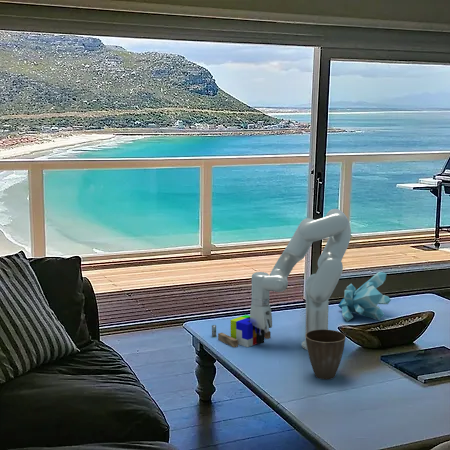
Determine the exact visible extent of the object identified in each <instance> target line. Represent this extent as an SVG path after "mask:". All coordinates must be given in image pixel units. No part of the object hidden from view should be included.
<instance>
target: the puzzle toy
mask: <svg viewBox="0 0 450 450" xmlns="http://www.w3.org/2000/svg"><path fill="white" fill-rule="evenodd" d="M254 327H255V326H253V325H252V323H250V315H247V314H244V315H241V316H238V317H235V318H232V319H230V337H232V338H235V339H237V340H238V346H239V345H240V346H242V347H246V348H250V347H252V346H255V345H257V344H258V343H256V333H255V329H254Z"/></svg>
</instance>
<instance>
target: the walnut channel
mask: <svg viewBox="0 0 450 450" xmlns="http://www.w3.org/2000/svg"><path fill="white" fill-rule="evenodd" d="M271 333H272V332H271V331H270V330H269V332H267V333H265V334H264V339H266V340H269V339H271V337H272V336H271ZM217 335H218V336H217V340H218V341H220V342H221V343H222V344H225V345H228V346H230V347H232V348H238V347H239V344H238V340H237V339H235V338H232V337H231V335H228V334H227V333H224V332H217Z"/></svg>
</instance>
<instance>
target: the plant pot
mask: <svg viewBox="0 0 450 450" xmlns="http://www.w3.org/2000/svg"><path fill="white" fill-rule="evenodd" d="M306 343H307V349H308V350H307V354H308V359H309V362H310V365H311V368H312V370H313V373H314V376H315V377H316V378H317V379H320V380H327V381H328V380H332V379H334V378H335V377H336V376H337V372H338V370H339V367H340V364H341V361H342V357H343V353H344V350H345V343H346V334H344V333H343V332H341V331H337V330H334V329H328V330H313V331H310V332H308V333H306Z"/></svg>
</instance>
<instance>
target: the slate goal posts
mask: <svg viewBox="0 0 450 450" xmlns="http://www.w3.org/2000/svg"><path fill="white" fill-rule="evenodd" d="M211 337H212V338H216V337H217V325H216V324H212V325H211Z"/></svg>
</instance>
